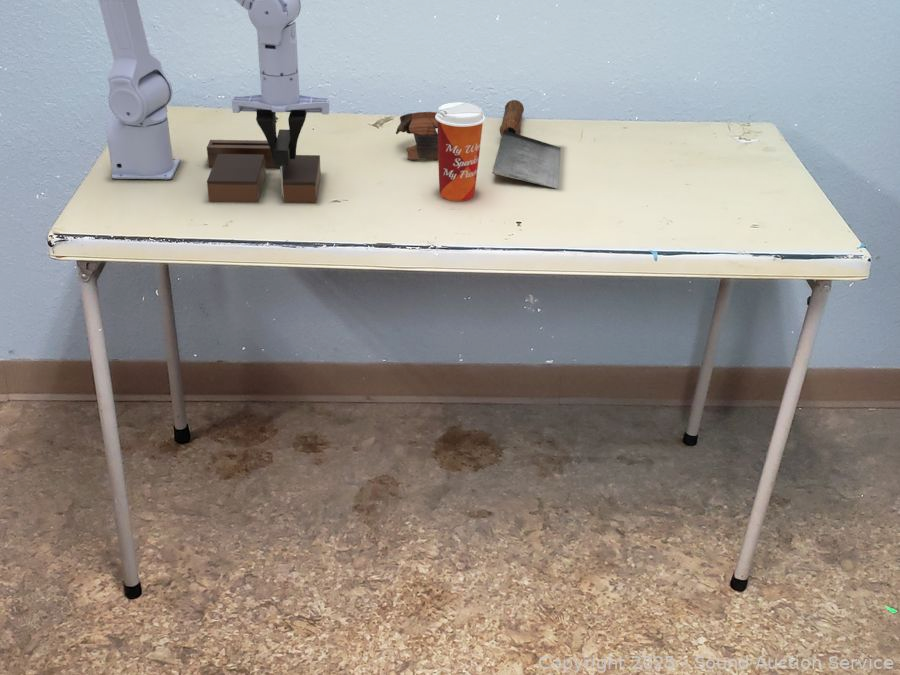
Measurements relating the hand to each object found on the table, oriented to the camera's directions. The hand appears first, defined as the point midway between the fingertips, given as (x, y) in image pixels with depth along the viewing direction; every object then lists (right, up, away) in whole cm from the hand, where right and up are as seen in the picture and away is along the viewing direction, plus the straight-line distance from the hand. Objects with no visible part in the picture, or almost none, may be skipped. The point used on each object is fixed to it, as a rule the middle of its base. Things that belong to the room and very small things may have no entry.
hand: (284, 156), depth 150 cm
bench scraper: (0, -4, +3) cm, 5 cm away
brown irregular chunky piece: (+22, +4, +18) cm, 29 cm away
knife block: (-8, +1, +11) cm, 14 cm away
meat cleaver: (+40, +5, +21) cm, 46 cm away
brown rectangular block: (+2, -5, +3) cm, 6 cm away
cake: (-8, -5, +2) cm, 9 cm away
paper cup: (+27, -6, +3) cm, 28 cm away
